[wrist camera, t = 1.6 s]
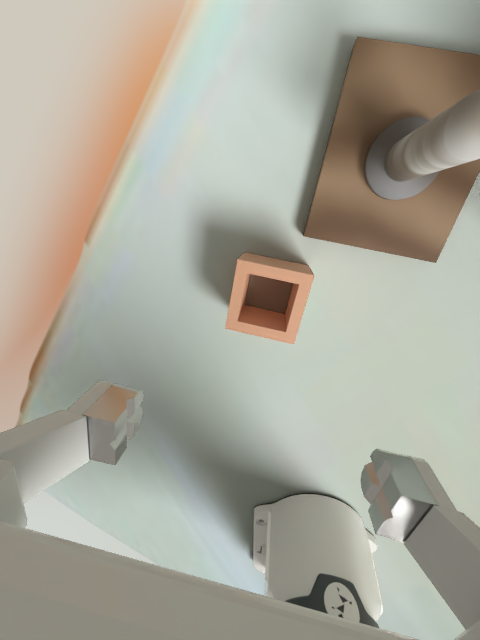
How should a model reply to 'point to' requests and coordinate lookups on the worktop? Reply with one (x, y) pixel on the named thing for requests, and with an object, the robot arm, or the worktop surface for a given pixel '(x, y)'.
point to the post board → (356, 127)
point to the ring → (262, 319)
